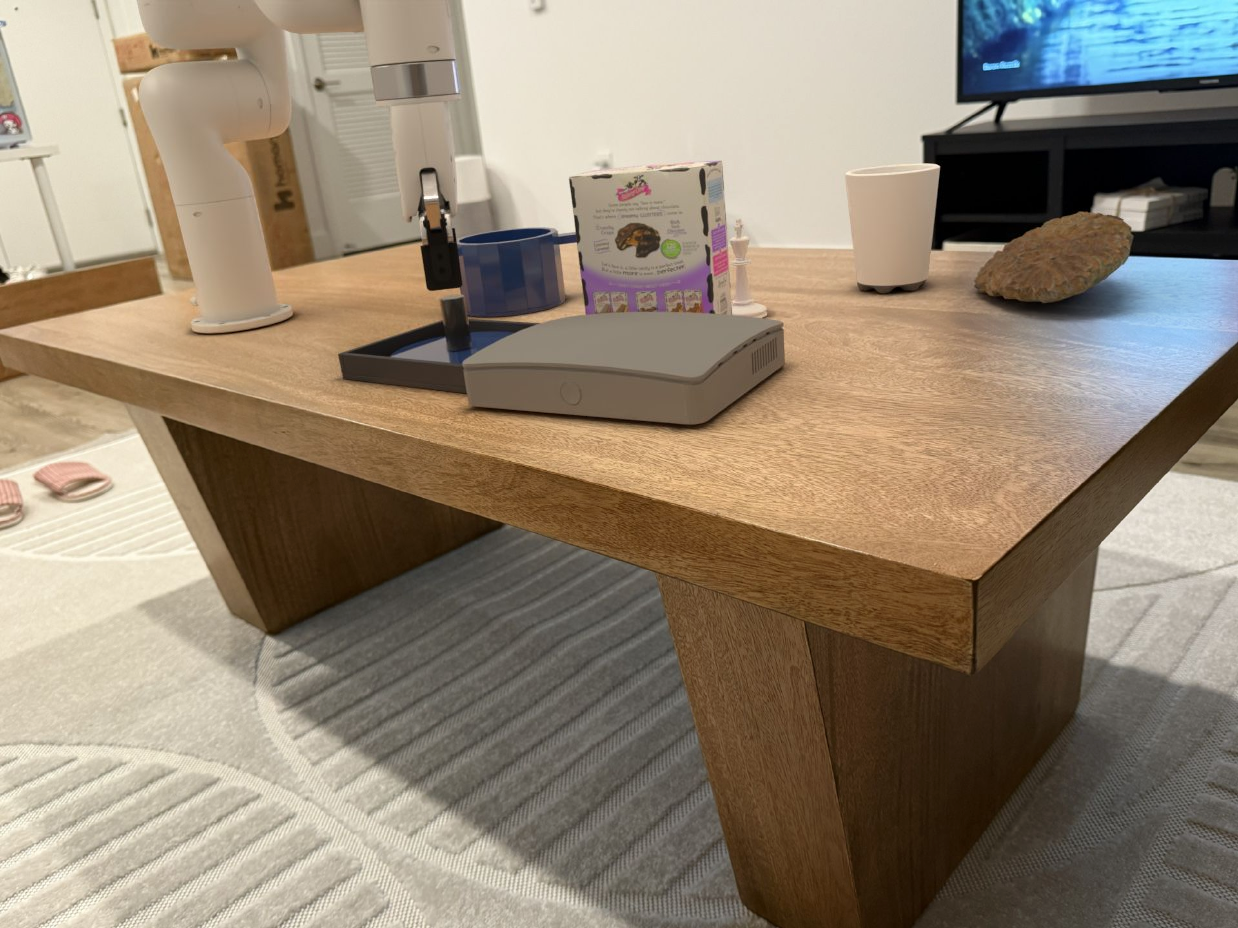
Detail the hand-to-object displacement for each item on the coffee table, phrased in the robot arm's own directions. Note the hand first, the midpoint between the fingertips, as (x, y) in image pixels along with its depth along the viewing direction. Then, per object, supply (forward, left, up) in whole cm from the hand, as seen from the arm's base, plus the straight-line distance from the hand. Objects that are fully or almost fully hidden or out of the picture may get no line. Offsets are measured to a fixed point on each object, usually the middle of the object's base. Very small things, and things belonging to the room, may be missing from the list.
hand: (444, 279), depth 93 cm
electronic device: (+22, -1, -9) cm, 23 cm away
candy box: (+15, +14, -9) cm, 22 cm away
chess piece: (+19, +24, -9) cm, 31 cm away
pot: (-13, +24, -8) cm, 29 cm away
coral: (+46, +37, -9) cm, 59 cm away
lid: (+1, 0, -7) cm, 7 cm away
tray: (+1, 0, -8) cm, 8 cm away
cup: (+29, +40, -8) cm, 50 cm away
